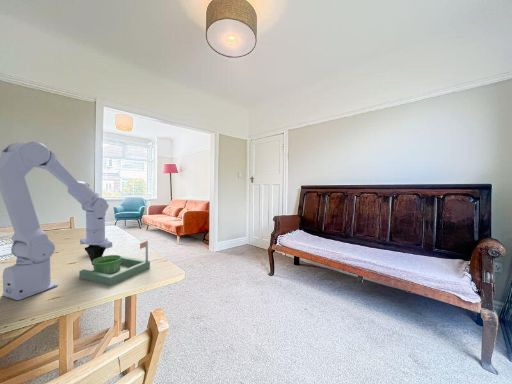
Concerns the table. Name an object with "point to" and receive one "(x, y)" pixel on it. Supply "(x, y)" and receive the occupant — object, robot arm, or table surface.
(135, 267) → the green tray with flag
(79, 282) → the table surface
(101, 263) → the ramekin
